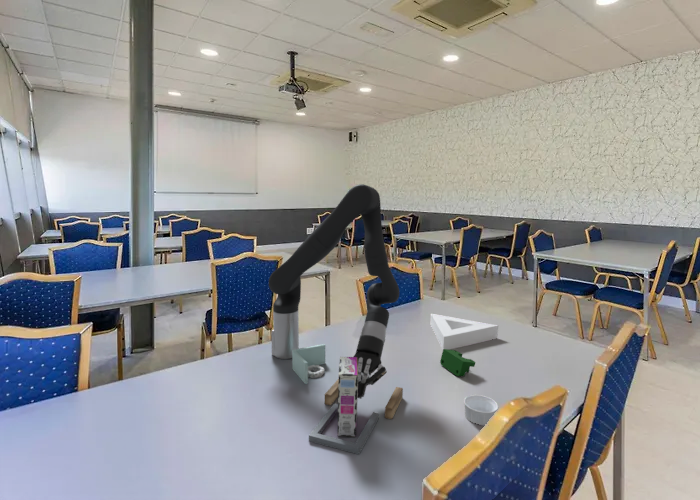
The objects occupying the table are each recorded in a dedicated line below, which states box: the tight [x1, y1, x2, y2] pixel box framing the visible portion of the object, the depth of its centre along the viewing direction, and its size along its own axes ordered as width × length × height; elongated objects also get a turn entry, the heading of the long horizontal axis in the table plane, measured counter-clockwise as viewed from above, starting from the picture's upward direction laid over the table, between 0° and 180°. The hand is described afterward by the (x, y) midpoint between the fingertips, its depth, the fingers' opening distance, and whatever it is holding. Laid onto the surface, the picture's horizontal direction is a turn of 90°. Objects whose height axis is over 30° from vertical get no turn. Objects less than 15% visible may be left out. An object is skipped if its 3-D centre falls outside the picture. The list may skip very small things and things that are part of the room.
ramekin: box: [463, 394, 499, 427], centre depth 103 cm, size 9×9×4 cm
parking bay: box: [308, 403, 380, 455], centre depth 97 cm, size 13×16×2 cm
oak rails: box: [324, 378, 404, 420], centre depth 110 cm, size 20×12×3 cm, turn 69°
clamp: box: [439, 349, 476, 377], centre depth 131 cm, size 12×6×9 cm, turn 15°
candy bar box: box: [337, 356, 358, 438], centre depth 98 cm, size 11×5×16 cm, turn 179°
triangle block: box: [429, 313, 499, 351], centre depth 158 cm, size 30×26×6 cm
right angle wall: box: [291, 343, 326, 385], centre depth 128 cm, size 12×12×8 cm
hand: (358, 397), depth 104 cm, fingers closed
